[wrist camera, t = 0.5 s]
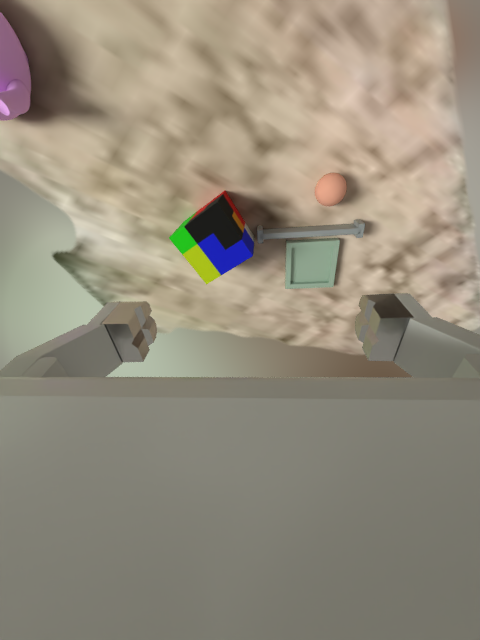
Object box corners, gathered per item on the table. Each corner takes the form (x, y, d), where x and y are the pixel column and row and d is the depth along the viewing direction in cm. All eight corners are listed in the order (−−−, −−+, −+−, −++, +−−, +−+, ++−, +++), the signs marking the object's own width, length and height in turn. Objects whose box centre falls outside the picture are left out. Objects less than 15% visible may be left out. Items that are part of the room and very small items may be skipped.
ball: (314, 172, 44) (319, 176, 40) (344, 169, 43) (352, 173, 39) (311, 203, 47) (316, 210, 43) (340, 201, 46) (347, 208, 42)
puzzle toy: (254, 236, 51) (252, 255, 43) (214, 262, 55) (206, 284, 47) (225, 190, 46) (217, 201, 38) (184, 221, 50) (169, 238, 42)
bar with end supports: (257, 225, 50) (257, 230, 47) (359, 219, 48) (365, 223, 45) (258, 238, 51) (257, 243, 49) (357, 232, 49) (362, 237, 47)
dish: (285, 240, 51) (286, 243, 50) (338, 237, 50) (339, 240, 49) (284, 285, 57) (285, 288, 55) (331, 283, 56) (333, 287, 54)
